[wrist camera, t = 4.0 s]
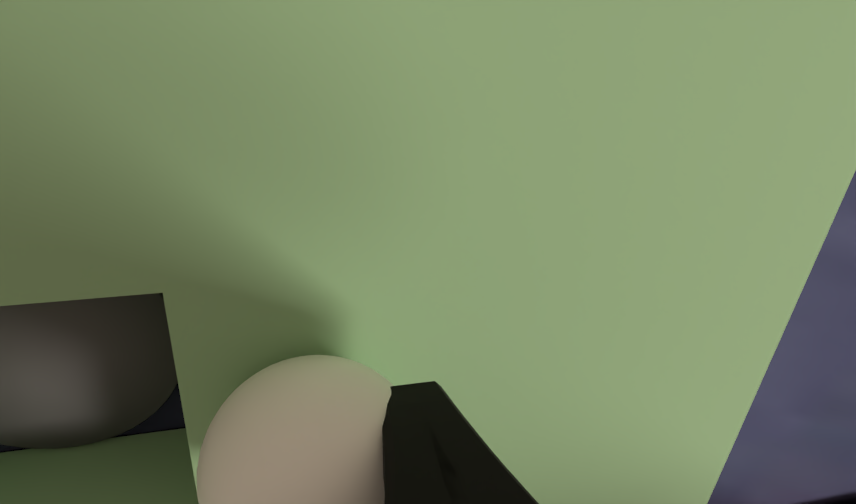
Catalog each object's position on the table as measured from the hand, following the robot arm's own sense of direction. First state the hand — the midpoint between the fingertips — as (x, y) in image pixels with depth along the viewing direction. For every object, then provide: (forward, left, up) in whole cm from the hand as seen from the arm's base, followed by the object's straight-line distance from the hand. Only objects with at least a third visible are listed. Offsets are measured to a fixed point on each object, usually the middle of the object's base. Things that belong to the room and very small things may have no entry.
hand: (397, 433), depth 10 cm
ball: (0, +1, +2) cm, 2 cm away
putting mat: (0, +1, -3) cm, 3 cm away
